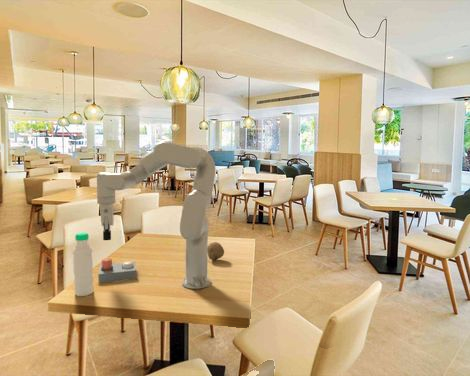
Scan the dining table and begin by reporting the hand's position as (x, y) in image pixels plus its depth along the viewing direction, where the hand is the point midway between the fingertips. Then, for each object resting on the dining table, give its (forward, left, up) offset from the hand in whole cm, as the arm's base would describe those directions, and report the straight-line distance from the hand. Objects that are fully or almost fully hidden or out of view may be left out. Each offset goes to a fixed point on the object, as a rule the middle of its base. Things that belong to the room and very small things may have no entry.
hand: (107, 239), depth 152 cm
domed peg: (0, -9, -16) cm, 19 cm away
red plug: (0, 0, -14) cm, 14 cm away
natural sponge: (+7, -53, -18) cm, 57 cm away
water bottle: (-15, +9, -18) cm, 25 cm away
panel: (0, -4, -18) cm, 18 cm away
